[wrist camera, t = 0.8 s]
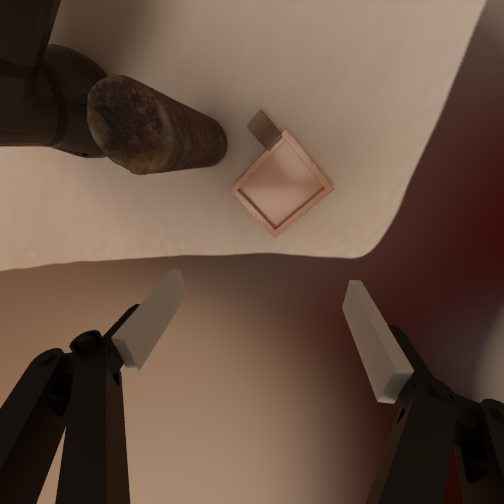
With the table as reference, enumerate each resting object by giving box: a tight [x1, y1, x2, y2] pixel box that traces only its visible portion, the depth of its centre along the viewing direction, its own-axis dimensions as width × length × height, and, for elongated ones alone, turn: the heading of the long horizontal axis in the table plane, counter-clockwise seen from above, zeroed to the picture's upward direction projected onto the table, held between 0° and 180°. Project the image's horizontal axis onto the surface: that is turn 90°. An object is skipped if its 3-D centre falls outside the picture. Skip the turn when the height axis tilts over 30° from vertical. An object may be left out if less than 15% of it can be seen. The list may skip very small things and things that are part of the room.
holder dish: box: [230, 129, 334, 237], centre depth 35 cm, size 12×13×2 cm
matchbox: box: [247, 109, 283, 152], centre depth 31 cm, size 5×3×2 cm, turn 46°
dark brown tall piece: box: [87, 75, 227, 175], centre depth 25 cm, size 8×7×20 cm
